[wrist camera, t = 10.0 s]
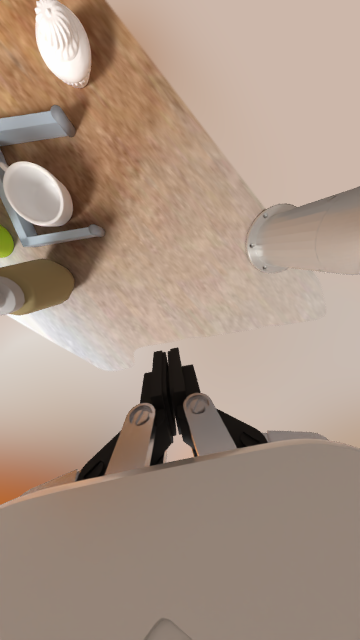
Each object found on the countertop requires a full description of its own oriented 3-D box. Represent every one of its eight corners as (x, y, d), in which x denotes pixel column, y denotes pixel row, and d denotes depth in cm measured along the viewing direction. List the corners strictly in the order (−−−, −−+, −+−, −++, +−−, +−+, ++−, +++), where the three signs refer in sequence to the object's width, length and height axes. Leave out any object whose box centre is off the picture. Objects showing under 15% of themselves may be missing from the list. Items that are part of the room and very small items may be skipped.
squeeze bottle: (42, 299, 35) (-65, 342, 19) (31, 257, 32) (-108, 262, 16) (84, 300, 36) (17, 341, 19) (77, 258, 33) (-9, 265, 17)
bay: (73, 122, 26) (60, 104, 23) (106, 236, 32) (100, 234, 29) (-14, 135, 26) (-39, 119, 23) (35, 248, 32) (21, 247, 29)
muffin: (44, 47, 24) (-1, -31, 17) (87, 33, 23) (59, -51, 17) (67, 108, 26) (36, 60, 19) (107, 96, 26) (88, 43, 19)
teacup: (88, 204, 30) (74, 194, 25) (64, 239, 32) (46, 237, 27) (31, 152, 27) (1, 129, 22) (8, 194, 29) (-25, 182, 24)
